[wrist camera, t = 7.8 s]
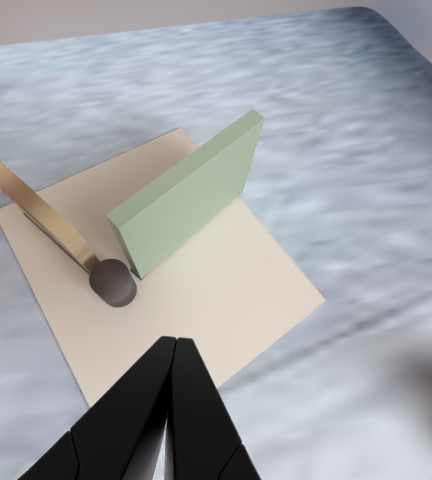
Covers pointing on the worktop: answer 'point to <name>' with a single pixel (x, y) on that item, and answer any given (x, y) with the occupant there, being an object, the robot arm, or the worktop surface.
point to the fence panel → (185, 196)
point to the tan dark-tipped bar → (72, 243)
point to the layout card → (158, 276)
